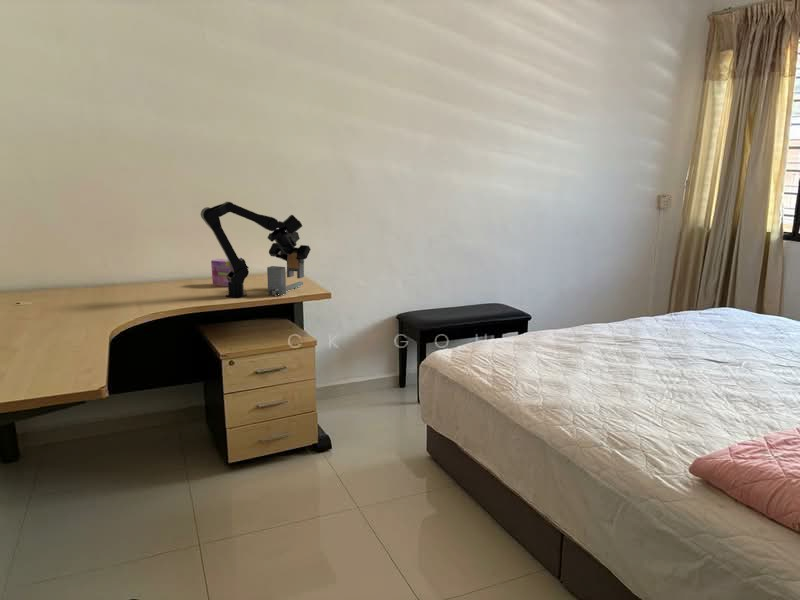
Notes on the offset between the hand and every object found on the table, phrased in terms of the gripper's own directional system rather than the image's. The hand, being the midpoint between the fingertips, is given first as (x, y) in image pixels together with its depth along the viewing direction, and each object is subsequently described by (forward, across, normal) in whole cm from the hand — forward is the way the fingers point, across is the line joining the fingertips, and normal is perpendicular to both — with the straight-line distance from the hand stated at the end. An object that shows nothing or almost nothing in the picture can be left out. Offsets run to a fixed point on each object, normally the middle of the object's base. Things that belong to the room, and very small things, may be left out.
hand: (296, 262), depth 271 cm
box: (+1, +31, +16) cm, 35 cm away
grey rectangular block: (+4, 0, +6) cm, 7 cm away
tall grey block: (-4, -1, +21) cm, 21 cm away
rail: (+2, 0, +14) cm, 14 cm away
